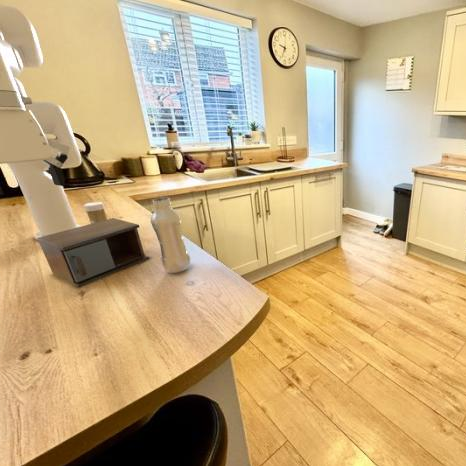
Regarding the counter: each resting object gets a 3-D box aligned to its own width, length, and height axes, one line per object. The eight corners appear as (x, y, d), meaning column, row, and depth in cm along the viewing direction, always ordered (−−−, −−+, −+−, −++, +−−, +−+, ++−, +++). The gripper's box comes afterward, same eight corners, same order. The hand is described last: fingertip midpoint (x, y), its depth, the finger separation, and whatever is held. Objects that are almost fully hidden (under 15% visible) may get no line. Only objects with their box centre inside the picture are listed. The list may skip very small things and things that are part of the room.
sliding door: (75, 281, 71) (63, 251, 67) (113, 267, 78) (104, 238, 74) (83, 285, 69) (70, 254, 66) (121, 269, 76) (111, 241, 73)
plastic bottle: (197, 266, 81) (182, 197, 73) (177, 277, 75) (158, 204, 67) (180, 262, 83) (163, 194, 75) (158, 273, 77) (138, 201, 69)
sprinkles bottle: (114, 243, 94) (101, 204, 88) (96, 247, 91) (82, 206, 86) (115, 239, 97) (103, 200, 92) (98, 241, 95) (84, 202, 90)
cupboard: (53, 274, 75) (36, 237, 71) (123, 249, 90) (113, 217, 86) (78, 287, 70) (62, 247, 66) (149, 258, 85) (139, 224, 80)
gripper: (44, 104, 64) (72, 181, 70) (-88, 100, 49) (-39, 197, 56) (61, 103, 61) (88, 183, 67) (-75, 98, 46) (-24, 201, 53)
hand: (31, 189), depth 61 cm, fingers open, 9 cm apart
